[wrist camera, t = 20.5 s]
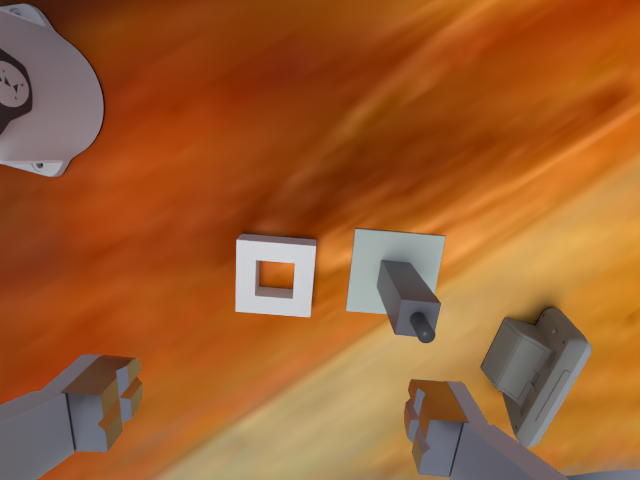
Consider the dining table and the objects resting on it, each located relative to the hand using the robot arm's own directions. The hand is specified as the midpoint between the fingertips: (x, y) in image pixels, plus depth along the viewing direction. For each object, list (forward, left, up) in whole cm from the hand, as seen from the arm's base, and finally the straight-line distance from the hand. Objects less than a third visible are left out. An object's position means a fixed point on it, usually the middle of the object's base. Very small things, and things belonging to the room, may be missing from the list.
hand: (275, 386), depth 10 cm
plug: (+12, -9, -34) cm, 37 cm away
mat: (+12, -9, -34) cm, 37 cm away
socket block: (-4, -10, -34) cm, 36 cm away
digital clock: (+32, -19, -34) cm, 51 cm away
